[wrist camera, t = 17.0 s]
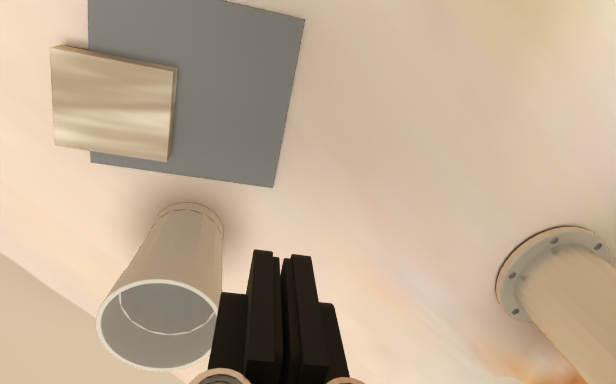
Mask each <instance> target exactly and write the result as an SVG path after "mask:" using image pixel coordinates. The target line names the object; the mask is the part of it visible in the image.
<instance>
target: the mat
mask: <svg viewBox="0 0 616 384" xmlns="http://www.w3.org/2000/svg"><path fill="white" fill-rule="evenodd" d="M304 23H305V19H300V18H296V17H292V16H287V15H283V14H279V13H274V12H270V11H266V10H261V9H257V8H253V7H248V6H244V5H240V4H235V3H231V2H227V1H222V0H88V40H89V51H94V52H99V53H104V54H109V55H114V56H119V57H124V58H129V59H134V60H139V61H145V62H150V63H155V64H160V65H165V66H170V67H175V68H178V72H177V85H176V98H175V111H174V124H173V137H172V150H171V156H170V157H169V159H168V161H167V162H161V161H154V160H148V159H141V158H135V157H128V156H121V155H115V154H108V153H101V152H95V151H90V155H91V163H98V164H105V165H113V166H120V167H127V168H134V169H141V170H148V171H155V172H162V173H170V174H177V175H184V176H191V177H198V178H205V179H212V180H219V181H226V182H234V183H241V184H248V185H255V186H262V187H269V188H273V185H274V180H275V175H276V169H277V164H278V159H279V154H280V148H281V143H282V138H283V133H284V127H285V122H286V117H287V112H288V106H289V101H290V96H291V91H292V86H293V80H294V75H295V70H296V65H297V59H298V54H299V49H300V44H301V38H302V33H303V28H304Z"/></svg>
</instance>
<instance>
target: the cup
mask: <svg viewBox="0 0 616 384" xmlns="http://www.w3.org/2000/svg"><path fill="white" fill-rule="evenodd" d="M223 234H224V232H223V226H222V223H221V221H220V220H219V218H218V217H217V215H216V214H215V213H214V212H212V211H211V210H210V209H208V208H206V207H204V206H202V205H199V204H196V203H178V204H174V205H171V206H169V207H167V208H166V209H164V210H163V211H162V212H161V213H160V214H159V215H158V216H157V218H156V220H155V222H154V224H153V227H152V229H151V231H150V233H149V234H148V236H147V237H146V239H145V240H144V242H143V244H142V245H141V247H140V248H139V250H138V251H137V253H136V255H135V256H134V258H133V259H132V261H131V263H130V264H129V266H128V267H127V269H126V270H125V271H124V272H123V273H122V274H121V276H120V277H119V279H118V280H117V282H116V283H115V285H114V286H113V288H112V289H111V291H110V292H109V294H108V295H107V297H106V298H105V300H104V301H103V303H102V304H101V306H100V308H99V310H98V313H97V317H96V330H97V334H98V337H99V339H100V341H101V343H102V344H103V345H104V347H105V348H106V349H107V350H108V351H109V352H110V353H111V354H112V355H113V356H114V357H116V358H117V359H119V360H120V361H122V362H124V363H126V364H128V365H131V366H133V367H136V368H140V369H144V370H150V371H174V370H179V369H184V368H187V367H190V366H192V365H195V364H197V363H199V362H201V361H202V360H204V359H205V358H206V357H208V356H209V355H210V353H211V347H212V341H213V336H214V330H215V324H216V318H217V313H218V307H219V301H220V295H221V292H222V242H223Z"/></svg>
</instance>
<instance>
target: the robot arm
mask: <svg viewBox="0 0 616 384" xmlns="http://www.w3.org/2000/svg"><path fill="white" fill-rule="evenodd" d="M496 294H497V298H498V301H499V303H500V305H501V306H502V307H503V308H504V310H505V311H506V312H507V313H508V314H509V315H510V316H511V317H513V318H515V319H517V320H519V321H523V322H528V323H535V324H536V325H537V326H538V328H539V329H540V330H541V331H542V332H543V333H544V334H545V336H546V337H547V338H548V339H549V340H550V341H551V342H552V344H553V345H554V346H555V347H556V348H557V349H558V350H559V352H560V353H561V354H562V355H563V356H564V357H565V358H566V360H567V361H568V362H569V363H570V364H571V365H572V366H573V368H574V369H575V370H576V371H577V372H578V373H579V374H580V376H581V377H582V378H583V379H584V380H585V381H586V382H587V384H616V268H615V267H613V266H612V265H610V254H609V249H608V248H607V246H606V244H605V242H604V241H603V240H602V239H601V238H600V237H598V236H597V235H595V234H594V233H592V232H591V231H589V230H586V229H583V228H579V227H560V228H555V229H551V230H548V231H546V232H543V233H540V234H538V235H536V236H535V237H533V238H531V239H529V240H528V241H526V242H525V243H524V244H522V245H521V246H520V247H519V248H518V249H516V250H515V251H514V252H513V253H512V254H511V256H510V257H509V258H508V259H507V261H506V262H505V264H504V265H503V267H502V269H501V271H500V273H499V276H498V279H497V284H496ZM190 384H365V383H363V382H362V381H359V380H357V379H354V378H350V376H349V371H348V367H347V362H346V358H345V353H344V349H343V344H342V340H341V335H340V331H339V326H338V322H337V317H336V313H335V308H334V305H333V304H332V303H322V302H319V301H318V295H317V290H316V284H315V278H314V272H313V266H312V260H311V257H310V256H304V255H296V254H292V255H291V258H290V259H288V258H284V261H283V265H282V270H281V275H280V263H279V257H273V252H271V251H263V250H255V249H254V252H253V257H252V263H251V268H250V274H249V280H248V286H247V291H246V294H236V293H227V292H221V295H220V301H219V307H218V313H217V318H216V324H215V330H214V336H213V341H212V347H211V353H210V359H209V364H208V370H207V371H205V372H203V373H201V374H199V375H198V376H196V377H195V378H194V379H193V380H192V381H191V382H190Z"/></svg>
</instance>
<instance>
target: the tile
mask: <svg viewBox="0 0 616 384" xmlns="http://www.w3.org/2000/svg"><path fill="white" fill-rule="evenodd" d="M50 64H51V84H52V103H53V123H54V143H55V146H61V147H68V148H75V149H81V150H88V151H95V152H101V153H108V154H115V155H121V156H128V157H135V158H141V159H148V160H154V161H161V162H167V161H168V159H169V157H170V156H171V150H172V137H173V124H174V111H175V98H176V85H177V72H178V68H175V67H170V66H165V65H160V64H155V63H150V62H145V61H139V60H134V59H129V58H124V57H119V56H114V55H109V54H104V53H99V52H94V51H89V50H84V49H79V48H74V47H69V46H63V45H60V46H55V47H50Z"/></svg>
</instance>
